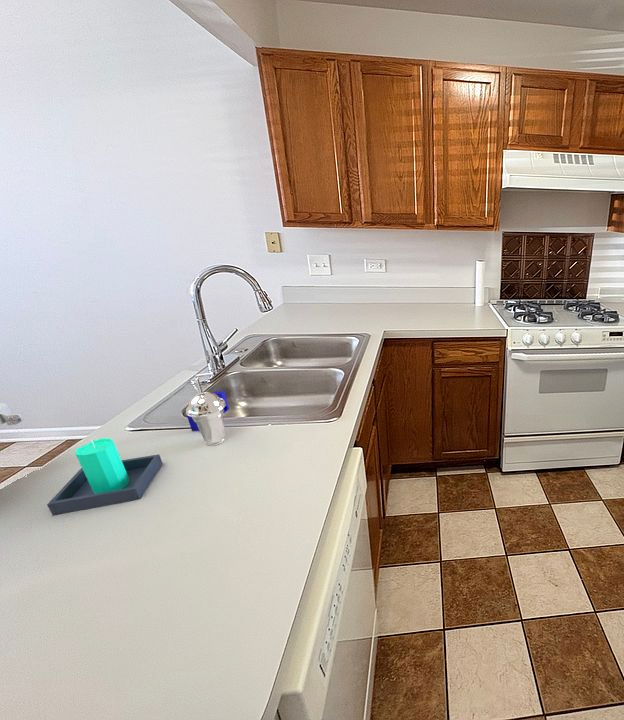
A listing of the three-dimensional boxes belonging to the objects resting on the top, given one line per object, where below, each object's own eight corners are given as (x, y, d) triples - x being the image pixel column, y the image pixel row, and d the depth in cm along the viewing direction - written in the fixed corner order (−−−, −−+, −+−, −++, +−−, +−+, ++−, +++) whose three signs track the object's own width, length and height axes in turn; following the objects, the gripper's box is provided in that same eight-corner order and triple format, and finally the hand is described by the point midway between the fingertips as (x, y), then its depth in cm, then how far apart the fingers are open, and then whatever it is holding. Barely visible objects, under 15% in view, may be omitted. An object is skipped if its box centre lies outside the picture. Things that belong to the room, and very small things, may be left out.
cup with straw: (225, 428, 109) (206, 361, 101) (242, 439, 104) (223, 369, 96) (191, 443, 102) (167, 372, 95) (206, 455, 97) (183, 382, 90)
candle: (128, 473, 91) (109, 428, 86) (131, 486, 87) (111, 440, 82) (92, 486, 87) (71, 439, 82) (94, 500, 83) (71, 452, 78)
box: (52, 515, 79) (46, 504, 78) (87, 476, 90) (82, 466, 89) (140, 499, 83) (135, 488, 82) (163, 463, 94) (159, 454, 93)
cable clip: (214, 409, 119) (209, 391, 116) (229, 409, 119) (224, 391, 116) (186, 431, 108) (180, 411, 105) (202, 431, 107) (196, 411, 105)
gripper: (-32, 425, 85) (46, 418, 88) (-145, 489, 66) (-41, 477, 69) (-47, 399, 82) (34, 392, 85) (-169, 458, 64) (-60, 446, 67)
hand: (0, 431), depth 77 cm, fingers open, 8 cm apart
